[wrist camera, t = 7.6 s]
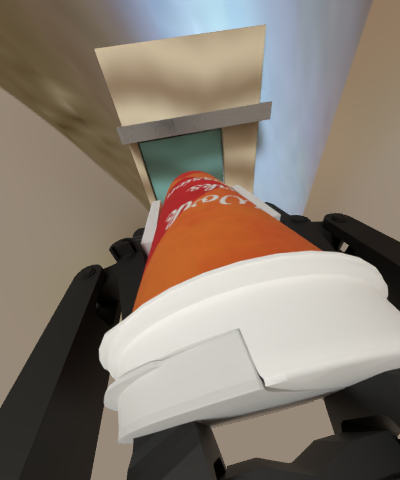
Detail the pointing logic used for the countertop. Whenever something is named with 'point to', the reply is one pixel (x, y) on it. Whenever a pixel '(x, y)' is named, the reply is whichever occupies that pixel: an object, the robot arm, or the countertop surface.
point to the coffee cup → (241, 318)
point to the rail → (194, 123)
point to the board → (189, 101)
